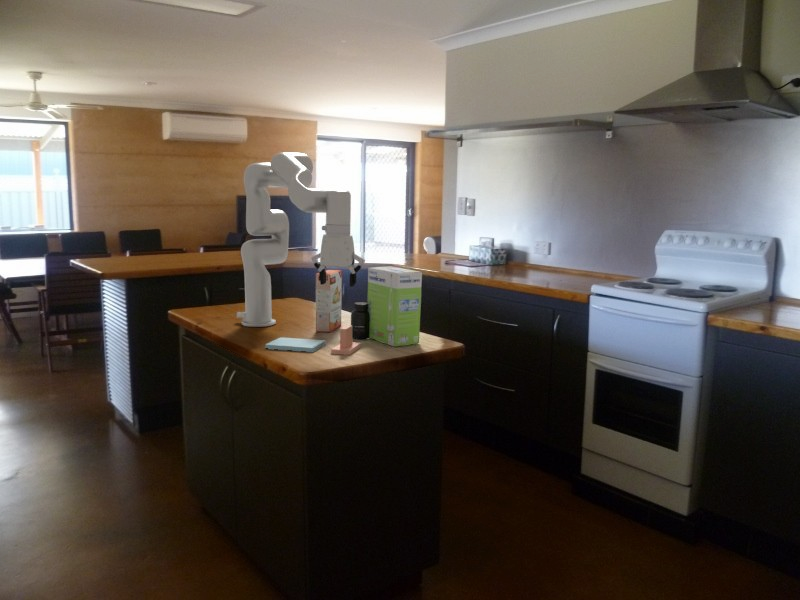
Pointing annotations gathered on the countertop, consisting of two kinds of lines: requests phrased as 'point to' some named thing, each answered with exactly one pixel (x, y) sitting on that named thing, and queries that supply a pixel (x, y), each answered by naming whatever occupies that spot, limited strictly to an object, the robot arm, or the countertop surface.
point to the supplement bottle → (360, 321)
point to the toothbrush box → (394, 305)
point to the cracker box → (329, 301)
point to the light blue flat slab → (296, 344)
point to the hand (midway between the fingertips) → (337, 284)
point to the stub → (346, 342)
